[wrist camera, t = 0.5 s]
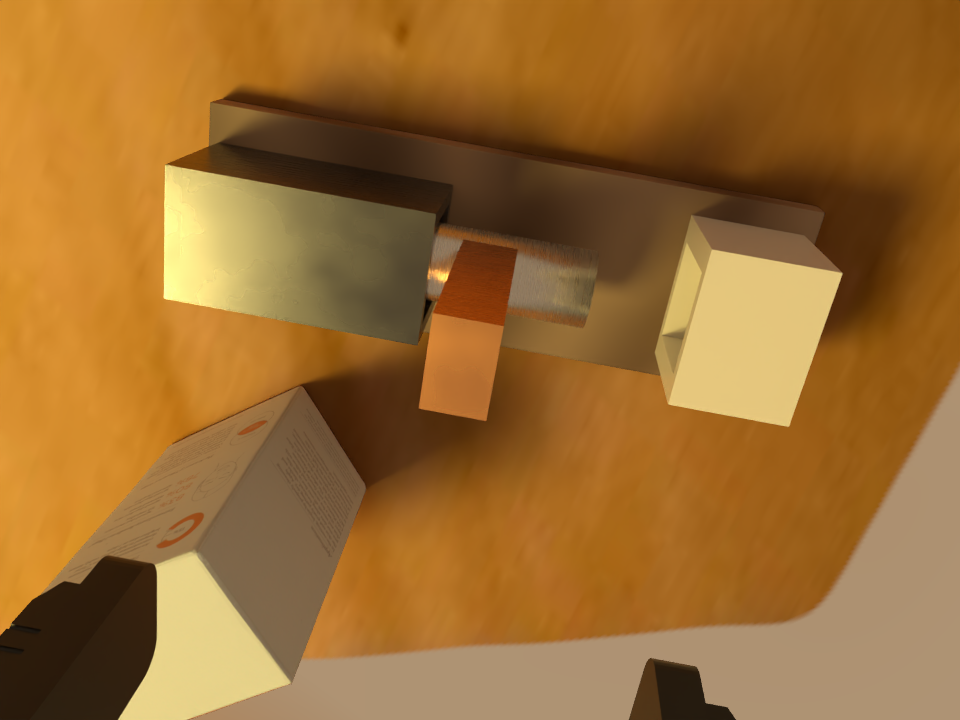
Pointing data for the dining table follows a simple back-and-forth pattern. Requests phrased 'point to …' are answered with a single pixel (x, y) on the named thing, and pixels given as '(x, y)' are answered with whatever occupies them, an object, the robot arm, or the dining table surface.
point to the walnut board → (539, 217)
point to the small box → (233, 553)
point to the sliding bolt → (493, 307)
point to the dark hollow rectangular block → (302, 240)
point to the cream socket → (744, 320)
